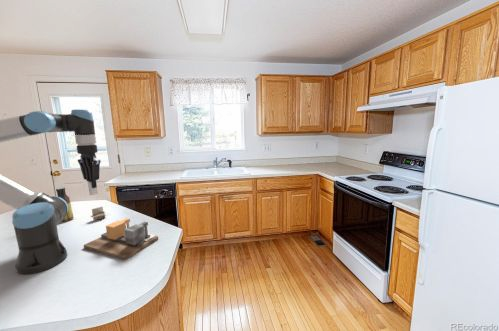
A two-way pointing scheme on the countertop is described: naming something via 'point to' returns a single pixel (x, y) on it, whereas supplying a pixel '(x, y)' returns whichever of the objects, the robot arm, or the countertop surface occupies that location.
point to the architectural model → (98, 213)
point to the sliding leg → (117, 229)
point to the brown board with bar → (124, 242)
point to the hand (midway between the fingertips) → (93, 194)
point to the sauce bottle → (62, 194)
